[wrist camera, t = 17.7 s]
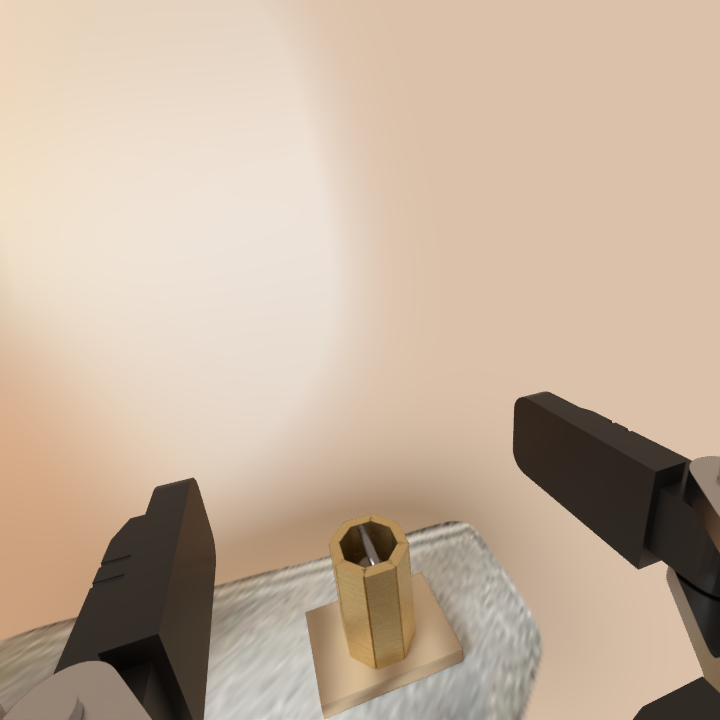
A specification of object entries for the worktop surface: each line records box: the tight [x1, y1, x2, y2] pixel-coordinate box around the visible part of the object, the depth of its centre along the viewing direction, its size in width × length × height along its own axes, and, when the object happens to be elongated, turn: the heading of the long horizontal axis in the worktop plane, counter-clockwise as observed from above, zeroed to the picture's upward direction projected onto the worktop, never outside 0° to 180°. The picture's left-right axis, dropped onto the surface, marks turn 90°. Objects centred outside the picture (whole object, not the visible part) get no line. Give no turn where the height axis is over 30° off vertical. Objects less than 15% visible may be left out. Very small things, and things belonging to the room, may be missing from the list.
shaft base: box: [305, 557, 463, 719], centre depth 33 cm, size 12×8×10 cm, turn 106°
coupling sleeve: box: [329, 514, 416, 670], centre depth 33 cm, size 6×6×10 cm
